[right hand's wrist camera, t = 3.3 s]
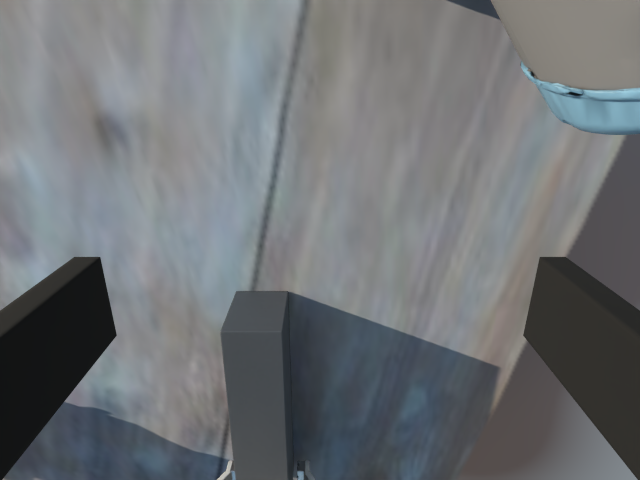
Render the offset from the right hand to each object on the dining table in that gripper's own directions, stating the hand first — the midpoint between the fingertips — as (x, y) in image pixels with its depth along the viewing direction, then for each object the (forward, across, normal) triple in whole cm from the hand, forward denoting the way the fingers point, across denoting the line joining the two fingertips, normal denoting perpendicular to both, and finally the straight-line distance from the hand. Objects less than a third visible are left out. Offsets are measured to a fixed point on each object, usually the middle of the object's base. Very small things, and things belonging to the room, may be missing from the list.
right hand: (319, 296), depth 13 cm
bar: (+30, -6, -29) cm, 42 cm away
